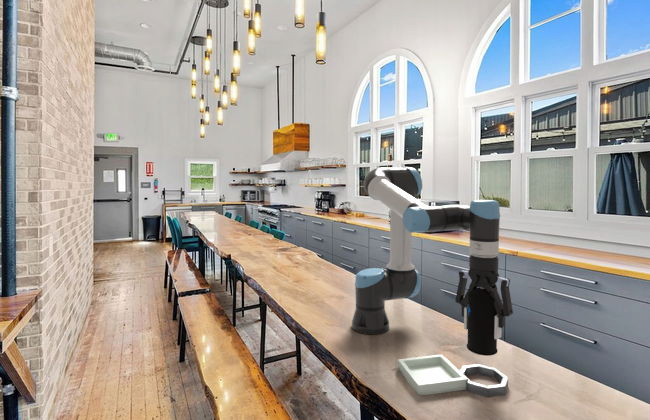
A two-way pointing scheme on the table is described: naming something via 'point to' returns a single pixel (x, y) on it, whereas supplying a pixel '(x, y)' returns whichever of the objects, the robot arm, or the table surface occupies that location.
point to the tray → (432, 374)
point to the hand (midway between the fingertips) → (482, 332)
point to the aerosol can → (481, 322)
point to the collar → (483, 389)
